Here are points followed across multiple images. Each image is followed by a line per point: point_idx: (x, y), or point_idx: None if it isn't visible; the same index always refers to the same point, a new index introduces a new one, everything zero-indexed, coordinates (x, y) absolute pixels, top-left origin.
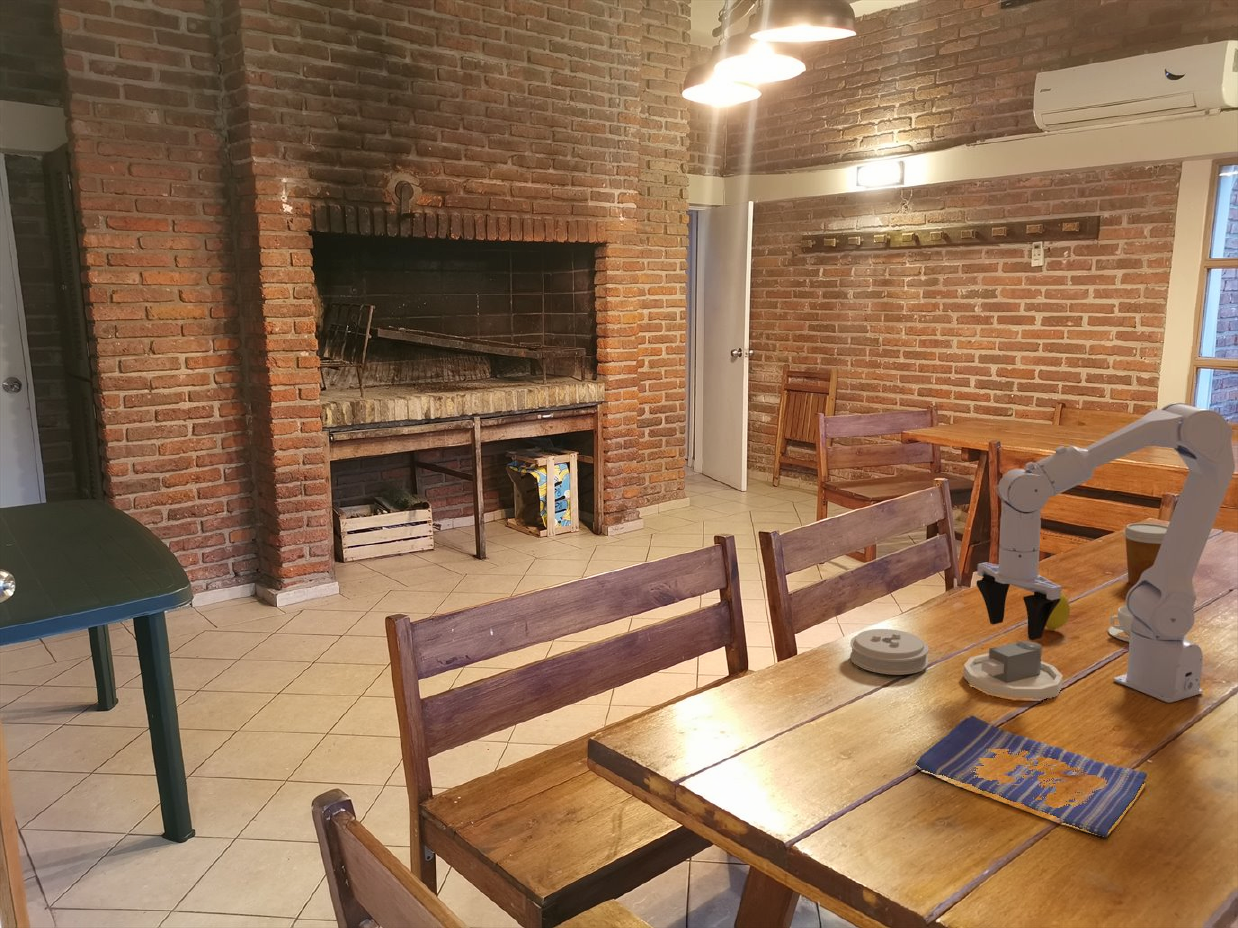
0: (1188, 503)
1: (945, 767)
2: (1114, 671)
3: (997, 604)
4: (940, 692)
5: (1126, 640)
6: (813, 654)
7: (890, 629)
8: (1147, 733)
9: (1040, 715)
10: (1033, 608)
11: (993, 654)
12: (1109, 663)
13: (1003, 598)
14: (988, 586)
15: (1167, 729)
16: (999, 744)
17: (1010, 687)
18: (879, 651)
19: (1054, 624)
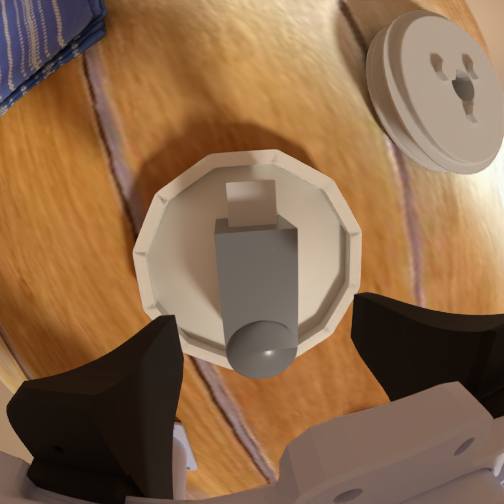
0: None
1: None
2: (215, 443)
3: (392, 354)
4: (272, 70)
5: None
6: (478, 34)
7: (500, 143)
8: (10, 315)
9: (89, 197)
10: (60, 376)
11: (276, 226)
12: (244, 452)
13: (397, 396)
14: (474, 352)
15: (20, 350)
16: (31, 40)
17: (164, 188)
18: (420, 18)
19: None
